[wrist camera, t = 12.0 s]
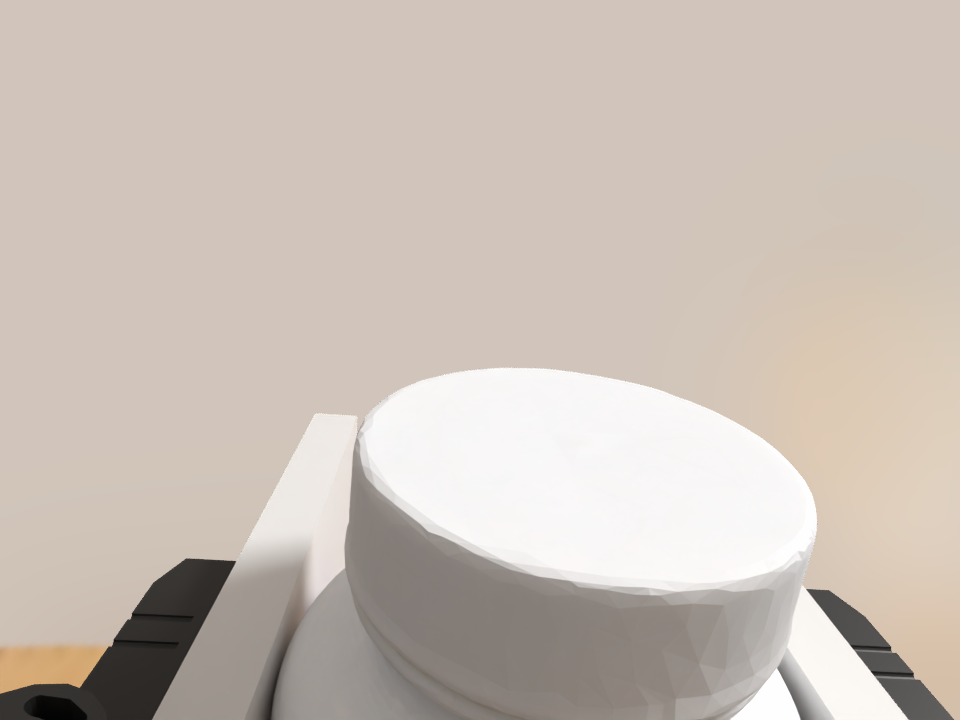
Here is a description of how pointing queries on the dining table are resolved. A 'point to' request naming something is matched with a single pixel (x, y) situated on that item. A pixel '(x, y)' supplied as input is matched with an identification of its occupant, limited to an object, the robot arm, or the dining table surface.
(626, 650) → the pill bottle
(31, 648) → the dining table surface
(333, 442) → the robot arm
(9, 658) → the dining table surface
